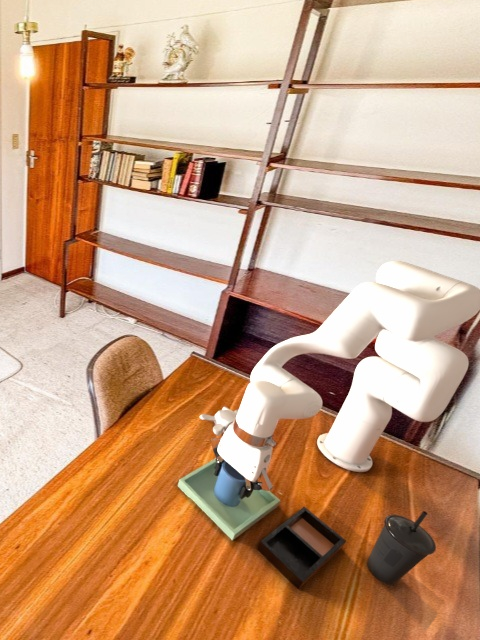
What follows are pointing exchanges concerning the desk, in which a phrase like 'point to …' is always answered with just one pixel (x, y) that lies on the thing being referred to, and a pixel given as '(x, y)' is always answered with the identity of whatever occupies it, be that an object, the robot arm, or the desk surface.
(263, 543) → the black divided tray
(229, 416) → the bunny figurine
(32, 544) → the desk surface
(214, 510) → the tray
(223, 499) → the blue cup
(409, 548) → the drinking cup
